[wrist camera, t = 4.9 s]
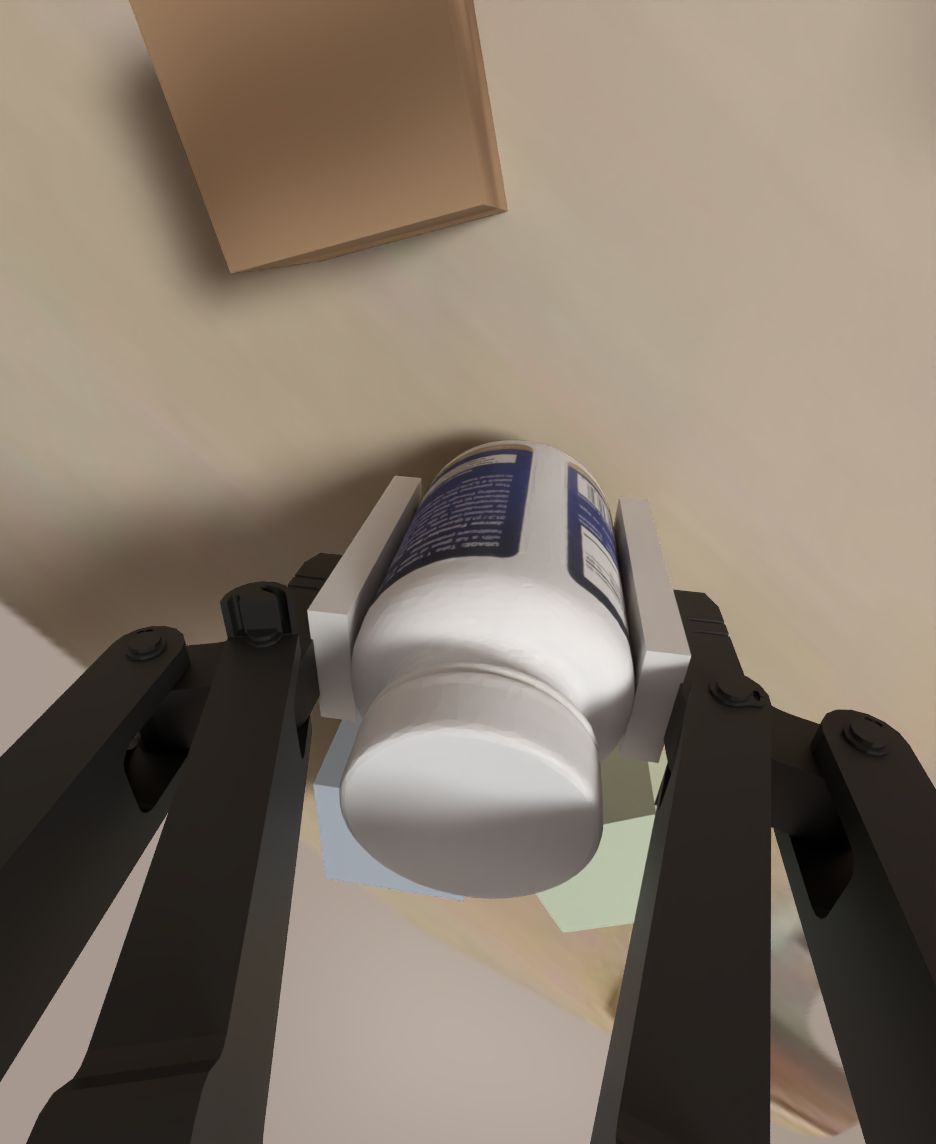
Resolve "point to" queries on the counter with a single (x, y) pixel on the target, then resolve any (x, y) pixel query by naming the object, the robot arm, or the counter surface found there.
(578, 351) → the counter surface
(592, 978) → the counter surface
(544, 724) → the pill bottle
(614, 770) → the sage cube
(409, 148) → the walnut cube
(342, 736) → the slate blue cube
